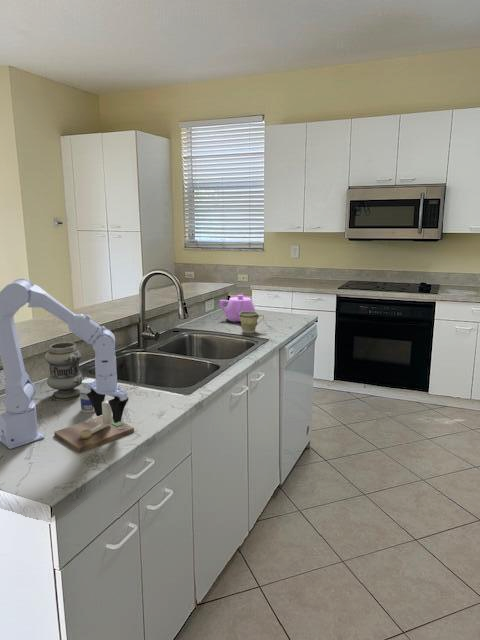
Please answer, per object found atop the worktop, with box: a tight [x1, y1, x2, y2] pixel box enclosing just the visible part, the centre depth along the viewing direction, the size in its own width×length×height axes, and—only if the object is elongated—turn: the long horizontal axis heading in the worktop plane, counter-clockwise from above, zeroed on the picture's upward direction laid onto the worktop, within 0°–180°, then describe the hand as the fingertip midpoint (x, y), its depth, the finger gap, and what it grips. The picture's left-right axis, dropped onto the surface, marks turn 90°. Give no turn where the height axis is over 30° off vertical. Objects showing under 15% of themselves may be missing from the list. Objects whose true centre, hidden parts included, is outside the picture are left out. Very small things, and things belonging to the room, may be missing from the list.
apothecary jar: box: [44, 341, 85, 401], centre depth 164 cm, size 12×12×18 cm
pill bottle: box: [79, 378, 96, 413], centre depth 153 cm, size 5×5×10 cm
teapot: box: [218, 294, 256, 323], centre depth 278 cm, size 23×21×15 cm
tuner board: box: [53, 415, 135, 453], centre depth 137 cm, size 17×14×1 cm
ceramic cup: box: [239, 311, 265, 334], centre depth 254 cm, size 13×10×10 cm
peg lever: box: [80, 400, 113, 439], centre depth 135 cm, size 11×3×7 cm, turn 149°
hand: (108, 418), depth 138 cm, fingers open, 7 cm apart
